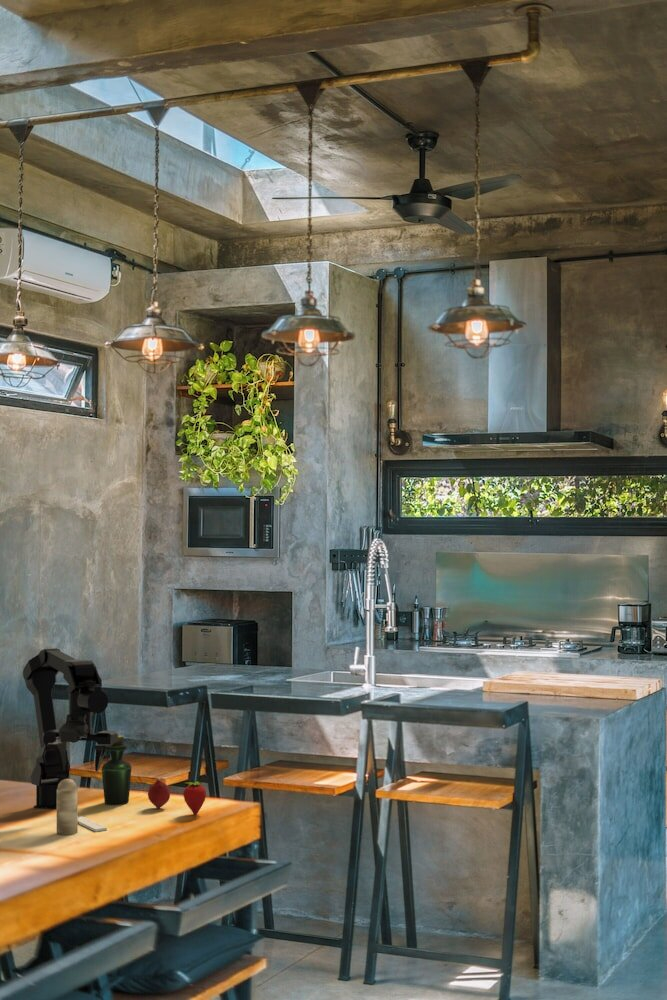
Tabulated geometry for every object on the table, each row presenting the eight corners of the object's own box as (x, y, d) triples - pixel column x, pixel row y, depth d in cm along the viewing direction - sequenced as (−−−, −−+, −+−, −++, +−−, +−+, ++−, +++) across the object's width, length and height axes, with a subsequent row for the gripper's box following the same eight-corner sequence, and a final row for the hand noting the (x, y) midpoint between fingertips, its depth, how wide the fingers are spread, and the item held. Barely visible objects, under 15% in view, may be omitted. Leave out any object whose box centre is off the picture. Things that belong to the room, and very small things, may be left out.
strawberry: (180, 817, 312) (180, 778, 312) (186, 811, 319) (186, 773, 320) (203, 817, 312) (203, 778, 312) (208, 811, 319) (208, 773, 320)
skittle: (52, 833, 295) (52, 779, 295) (68, 829, 299) (68, 776, 299) (66, 836, 292) (66, 781, 292) (81, 832, 296) (82, 778, 296)
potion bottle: (105, 799, 336) (105, 734, 337) (134, 799, 335) (134, 734, 336) (98, 805, 328) (98, 738, 329) (128, 805, 327) (128, 738, 328)
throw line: (71, 820, 309) (71, 817, 309) (82, 818, 311) (82, 816, 311) (95, 831, 296) (95, 829, 296) (107, 830, 298) (107, 827, 298)
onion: (172, 806, 326) (172, 776, 327) (167, 810, 321) (167, 779, 321) (151, 805, 327) (151, 775, 327) (145, 810, 321) (145, 779, 322)
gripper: (32, 713, 308) (32, 775, 307) (101, 714, 304) (101, 777, 303) (51, 707, 319) (51, 767, 318) (118, 708, 315) (118, 769, 314)
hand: (80, 770), depth 313 cm, fingers open, 9 cm apart
